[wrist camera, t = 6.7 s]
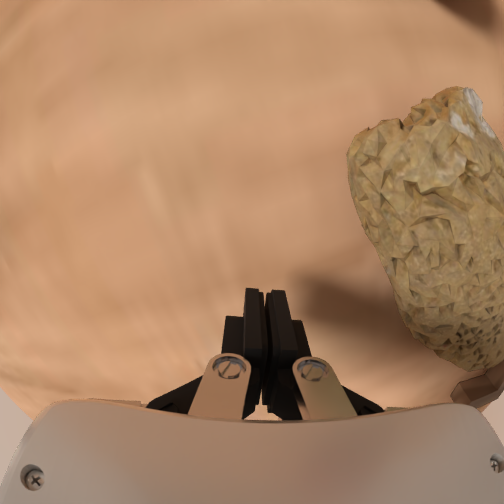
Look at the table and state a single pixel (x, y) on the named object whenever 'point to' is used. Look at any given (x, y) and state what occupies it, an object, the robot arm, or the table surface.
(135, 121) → the table surface
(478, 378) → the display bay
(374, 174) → the sponge
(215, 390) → the robot arm
